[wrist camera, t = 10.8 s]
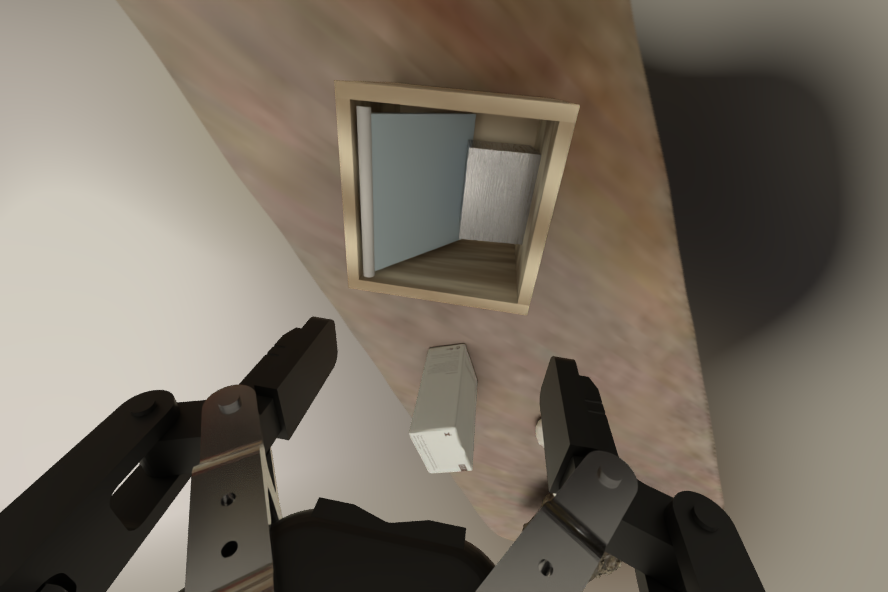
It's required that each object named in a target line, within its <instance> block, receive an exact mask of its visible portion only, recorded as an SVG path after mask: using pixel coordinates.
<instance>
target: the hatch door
mask: <svg viewBox="0 0 888 592" xmlns="http://www.w3.org/2000/svg"><path fill="white" fill-rule="evenodd" d="M356 109H357V132H358V156H359V180H360V204H361V227H362V251H363V275H364V276H365V277H373V276H375V271H377V270H380V269H382V268H385V267H388V266H390V265H393V264H396V263H398V262H401V261H404V260H407V259H409V258H412V257H415V256H417V255H420V254H423V253H425V252H428V251H431V250H433V249H436V248H439V247H442V246H444V245H447V244H450V243H452V242H455V241H458V240H460V239H459V217H460V207H461V198H462V189H463V180H464V171H465V162H466V153H467V144H468V139H470V140H473V137H474V128H475V119H476V114H472V113H371V107H368V106H356Z"/></svg>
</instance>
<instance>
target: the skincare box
mask: <svg viewBox="0 0 888 592" xmlns="http://www.w3.org/2000/svg"><path fill="white" fill-rule="evenodd" d="M477 383H478V382H477V378H476V375H475V372H474V369H473V366H472V363H471V360H470V357H469V354H468V352H467V349H466V345H465V344H458V345H452V346H441V347H434V348H430V349H429V350H428V354H427V358H426V362H425V367H424V371H423V375H422V379H421V384H420V388H419V392H418V397H417V401H416V405H415V410H414V414H413V418H412V422H411V426H410V430H409V435H410V437H411V439H412V441H413V443H414V445H415V447H416V448H417V451H418V453H419V454H420V456H421V458H422V460H423V462H424V464H425V466H426V468H427V470H428V472H429V473H443V472H458V471H471V470H472V467H473V451H474V433H475V416H476V398H477Z"/></svg>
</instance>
